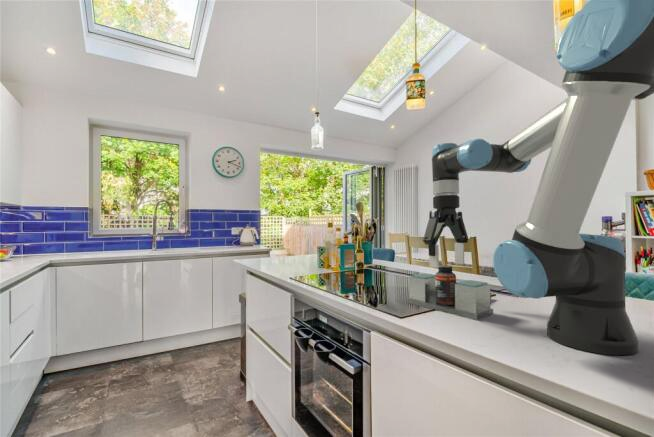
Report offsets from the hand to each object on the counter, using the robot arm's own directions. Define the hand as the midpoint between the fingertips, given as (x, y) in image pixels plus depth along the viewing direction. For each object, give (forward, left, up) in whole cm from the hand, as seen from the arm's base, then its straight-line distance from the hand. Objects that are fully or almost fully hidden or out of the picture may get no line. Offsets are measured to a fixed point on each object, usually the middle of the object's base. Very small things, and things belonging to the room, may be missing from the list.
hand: (447, 265), depth 95 cm
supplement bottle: (+1, 0, -12) cm, 12 cm away
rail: (0, 0, -13) cm, 13 cm away
